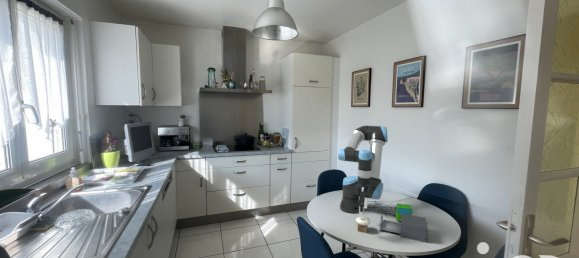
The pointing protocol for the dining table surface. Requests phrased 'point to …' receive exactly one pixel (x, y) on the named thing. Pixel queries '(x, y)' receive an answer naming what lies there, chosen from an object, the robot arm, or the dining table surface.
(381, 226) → the grey drawer
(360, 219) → the disc
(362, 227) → the walnut block
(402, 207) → the green and teal box
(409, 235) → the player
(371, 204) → the dining table surface
